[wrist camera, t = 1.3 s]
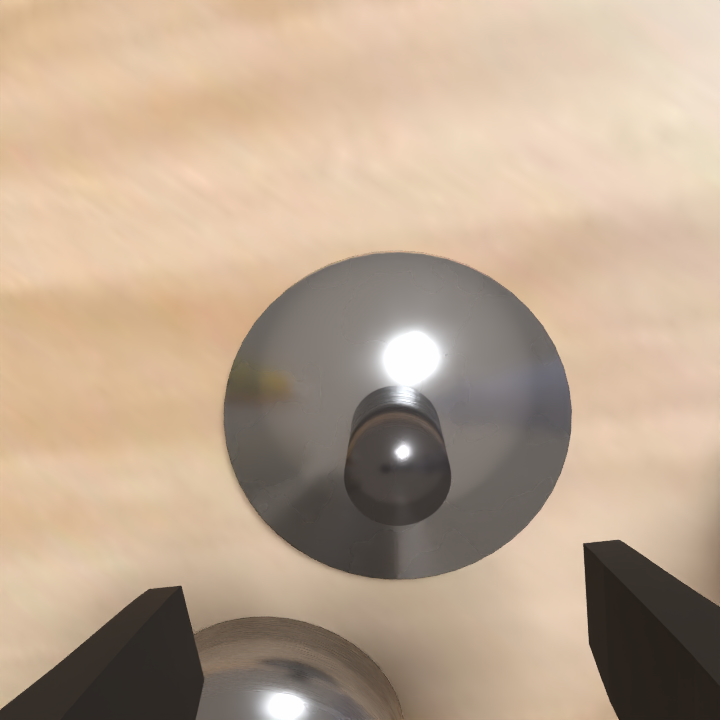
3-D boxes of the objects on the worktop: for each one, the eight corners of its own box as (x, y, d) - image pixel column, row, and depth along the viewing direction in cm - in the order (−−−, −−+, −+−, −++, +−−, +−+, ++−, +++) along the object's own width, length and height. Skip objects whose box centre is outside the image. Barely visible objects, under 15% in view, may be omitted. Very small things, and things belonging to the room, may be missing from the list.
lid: (555, 228, 19) (607, 239, 14) (569, 548, 21) (617, 640, 17) (203, 272, 20) (149, 294, 15) (260, 574, 22) (229, 669, 18)
